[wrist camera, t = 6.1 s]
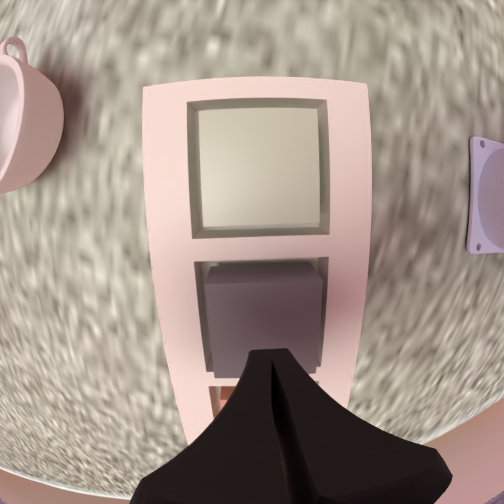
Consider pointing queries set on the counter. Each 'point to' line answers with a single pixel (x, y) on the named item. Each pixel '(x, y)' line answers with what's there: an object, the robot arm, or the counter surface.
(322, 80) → the pink tray
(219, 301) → the key charcoal
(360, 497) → the robot arm
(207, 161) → the key sage
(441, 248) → the counter surface
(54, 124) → the teacup
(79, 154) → the counter surface
